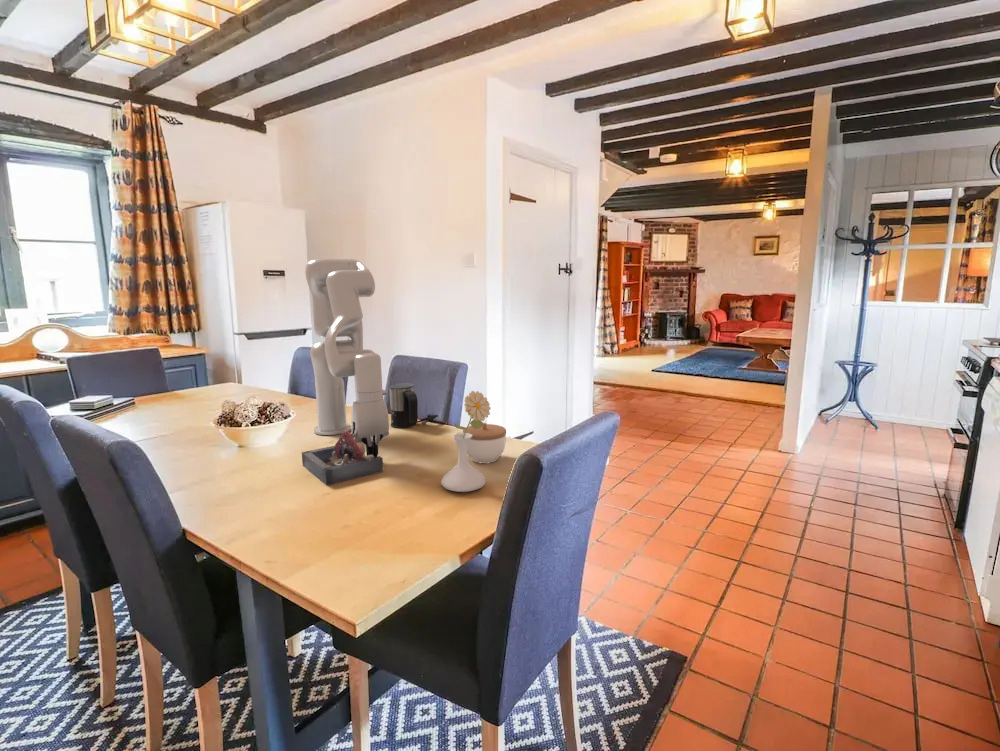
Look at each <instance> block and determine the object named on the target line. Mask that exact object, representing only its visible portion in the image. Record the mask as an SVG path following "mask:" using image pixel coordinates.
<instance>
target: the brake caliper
mask: <svg viewBox="0 0 1000 751" xmlns="http://www.w3.org/2000/svg"><path fill="white" fill-rule="evenodd" d="M353 437H354V434H352V431H351V432H350V431H344V433H342V434H341V436H340V437H339V438H338V440H337V442H335V444H334V445H333V446H334V452H333V453H332V458H330V461H331V462H330V467H332V466H337V465H341V464H346V463H350V462H355V461H359V460H364V459H368V458H373V457H374V456H373V455H367V454H366V446H365V444H364V443H363V442H355V441H354V439H353ZM343 439H344V440H343ZM341 446H344V450H343V452H342V450H341Z"/></svg>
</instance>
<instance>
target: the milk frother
mask: <svg viewBox="0 0 1000 751" xmlns="http://www.w3.org/2000/svg"><path fill="white" fill-rule="evenodd" d="M388 388H389V401H390V402H389V403H390V426H391V427H392V428H397V429H403V428H411V427H414V426H416V425H417V424H418V423H421V422H425V421H428V422H429V423H430V422H432V421H433V420H435V419H436V418H438V417H439V415H438V414H431V413H429V414H427V415H426V417H424V418H421V419H419V420H418V414H419V413H418V412H419V411H418V410H419V409H418V404H419V403H418V401H419V400H418V397H417V394H416V392H415V390H414V388H415V384H414V383H410V382H402V383H393V384H389V385H388Z"/></svg>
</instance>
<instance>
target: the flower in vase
mask: <svg viewBox="0 0 1000 751" xmlns="http://www.w3.org/2000/svg"><path fill="white" fill-rule="evenodd" d="M464 402H465V403H464V409H465V413H467V415H468V416H470V417H469V422H468V423H467V426H463V425H462V426H461V425H458V424H457V423H454V427H455V428H456V429H460V430H462V431H463V430H465V432H464V433H463V432H459V433H458V432H456V433H454V434H452V438H453V439H454V441H455V443H456V445H457V450H458V451H457V452H458V453H457V454H458V461H457V464H456V465H455V466H453V468H451V469H450V470H448V471H447V472H446V473H445V474H444V476H442V478H441V481H440V483H441V486H443V488H444V489H445V490H449V491H453V492H457V493H466V492H472V491H473V492H474V491H475V490H479V489H481V488H483V487H484V485H485V484H486V482H487V481H486V480H487V479H486V478H485V475H484V474H483V473H481V471H479V470H478V469H476V468H475V467H473V466H472V465H471V464H470V463H469V459H468V454H467V450H468V444H469V441H470V439H471V438H472V436H473V435H472V434H470V433H466V431H467V429H468V427H469V426H472V427H473V428H475V429H478V428H481V427H482V426H483V425H484V423H485V422H484V421H485V420H486V418H489V416H490V415H491V412H490V410H491V406H490V405H491V404H490V402H489V401H488V398H487V397H486V396H484V394H483V393H482V392H480V391H478V390H477V391H473V390H472V391H471V392H469V394H468V395H466V396H465V398H464ZM466 427H467V428H466Z"/></svg>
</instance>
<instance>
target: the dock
mask: <svg viewBox="0 0 1000 751" xmlns="http://www.w3.org/2000/svg"><path fill="white" fill-rule="evenodd" d="M334 446H335V445H331V446H327V447H320V448H317V449H312V450H306V451H301V462H302V466H303V467H304V468H305V469H306V470H308V472H310V473H311V474H312V475H313V476H314V477H316V479H318V480H320V482H321V483H323V484H324V485H325V486H330V485H333V484H339V483H343V482H346V481H351V480H355V479H359V478H362V477H363V478H364V477H367V476H371V475H375V474H379V473H383V472H384V462H383V461H384V460H383V459H384V458H383V457H382V456H380V455H377V457H373V458H368V459H364V460H359V461H355V462H350V463H346V464H341V465H337V466H332V467H331V465H328V464H327V463H331V461H330V458H332V453H333V452H334ZM341 450H342V452H343V450H344V446H341Z"/></svg>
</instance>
